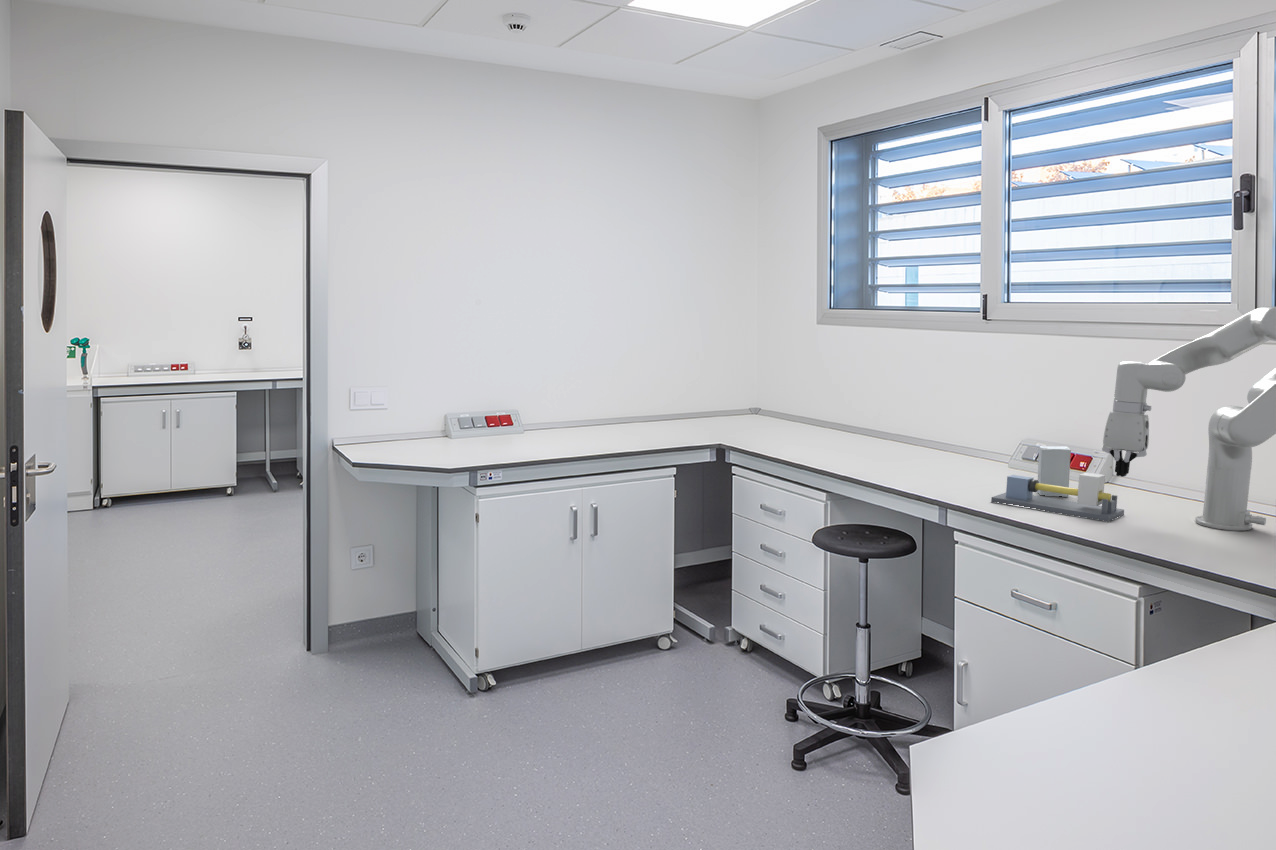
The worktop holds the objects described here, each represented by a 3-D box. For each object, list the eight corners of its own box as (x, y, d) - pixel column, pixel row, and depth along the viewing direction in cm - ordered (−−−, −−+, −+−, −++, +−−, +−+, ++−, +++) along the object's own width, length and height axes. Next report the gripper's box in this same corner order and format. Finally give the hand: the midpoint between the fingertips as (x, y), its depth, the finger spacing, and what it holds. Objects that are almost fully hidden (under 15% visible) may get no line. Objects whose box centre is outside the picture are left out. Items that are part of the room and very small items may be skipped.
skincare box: (1064, 493, 273) (1068, 446, 271) (1068, 498, 267) (1072, 449, 265) (1035, 492, 275) (1038, 444, 273) (1038, 496, 269) (1042, 447, 267)
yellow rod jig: (1123, 514, 245) (1126, 488, 244) (1108, 522, 237) (1110, 494, 236) (1008, 496, 268) (1010, 471, 267) (991, 502, 260) (992, 477, 259)
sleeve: (1102, 503, 246) (1105, 475, 245) (1096, 506, 242) (1098, 477, 241) (1083, 500, 249) (1085, 472, 248) (1077, 503, 246) (1079, 474, 245)
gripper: (1164, 410, 234) (1156, 478, 236) (1104, 404, 244) (1096, 469, 247) (1155, 412, 229) (1147, 482, 231) (1094, 405, 239) (1086, 472, 242)
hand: (1121, 475), depth 239 cm, fingers closed
